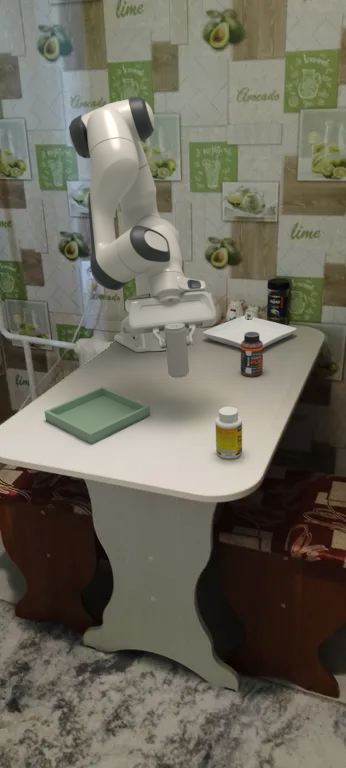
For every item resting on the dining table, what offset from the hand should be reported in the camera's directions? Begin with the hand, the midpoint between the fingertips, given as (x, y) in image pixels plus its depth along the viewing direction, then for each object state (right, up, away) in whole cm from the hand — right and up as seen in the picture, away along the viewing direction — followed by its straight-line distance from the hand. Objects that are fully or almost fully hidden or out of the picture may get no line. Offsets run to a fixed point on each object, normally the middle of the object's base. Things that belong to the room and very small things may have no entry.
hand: (176, 346), depth 146 cm
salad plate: (+23, +5, +54) cm, 59 cm away
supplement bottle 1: (+11, -24, -7) cm, 27 cm away
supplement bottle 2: (+21, -6, +30) cm, 37 cm away
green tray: (-19, -17, +11) cm, 27 cm away
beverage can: (+1, -6, +4) cm, 8 cm away
